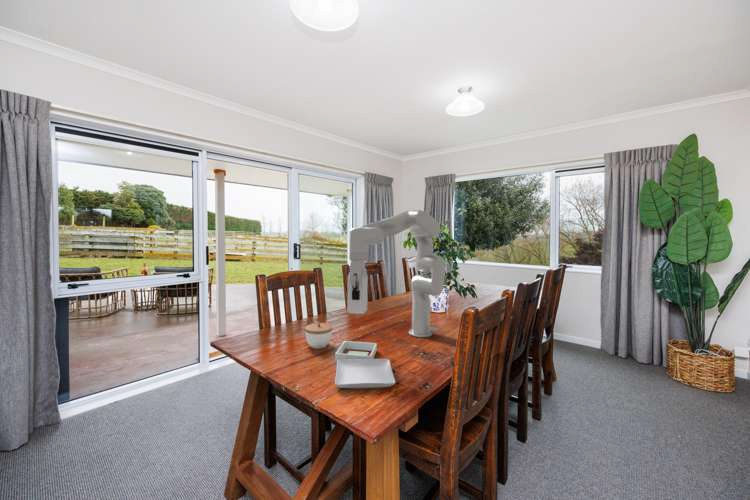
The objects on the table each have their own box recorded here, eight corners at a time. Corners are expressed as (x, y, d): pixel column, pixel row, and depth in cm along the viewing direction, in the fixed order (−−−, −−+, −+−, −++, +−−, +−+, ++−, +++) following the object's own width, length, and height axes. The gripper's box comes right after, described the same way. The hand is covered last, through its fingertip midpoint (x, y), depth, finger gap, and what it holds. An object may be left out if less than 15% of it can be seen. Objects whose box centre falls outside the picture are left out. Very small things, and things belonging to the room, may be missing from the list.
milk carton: (363, 314, 135) (364, 269, 133) (347, 313, 136) (347, 268, 135) (367, 310, 141) (368, 267, 140) (351, 309, 143) (352, 266, 142)
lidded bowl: (336, 348, 149) (336, 324, 148) (310, 353, 143) (310, 328, 142) (326, 339, 160) (326, 317, 159) (301, 343, 153) (301, 321, 153)
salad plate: (337, 366, 130) (337, 358, 130) (389, 366, 132) (389, 357, 132) (334, 393, 109) (334, 383, 109) (396, 392, 111) (396, 382, 110)
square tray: (376, 350, 147) (376, 343, 146) (370, 364, 132) (371, 356, 131) (344, 348, 149) (344, 340, 149) (335, 361, 134) (335, 353, 134)
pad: (368, 352, 144) (368, 352, 144) (364, 361, 135) (364, 360, 135) (349, 351, 145) (349, 350, 145) (344, 359, 136) (344, 358, 136)
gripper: (354, 254, 146) (353, 293, 148) (344, 258, 129) (344, 301, 130) (370, 255, 145) (369, 294, 146) (362, 258, 128) (362, 302, 129)
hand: (357, 297), depth 138 cm, fingers closed on milk carton, 7 cm apart
